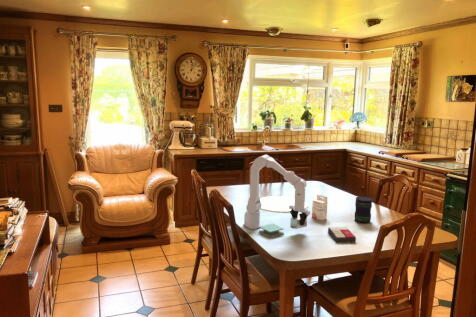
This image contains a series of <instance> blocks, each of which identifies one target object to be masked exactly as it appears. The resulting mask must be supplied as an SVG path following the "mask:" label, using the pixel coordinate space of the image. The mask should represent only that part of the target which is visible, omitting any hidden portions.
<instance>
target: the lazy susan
mask: <svg viewBox="0 0 476 317" xmlns="http://www.w3.org/2000/svg"><path fill="white" fill-rule="evenodd" d="M259 198H260V202H261V208H260V209H259V210H263V211H267V212H272V213H290V211H291V210H292V209H289V205H293V206H294V203H295V197H291V196H278V195H277V196H276V195H274V196H272V195H271V196H269V195H267V196H263V197H259ZM307 208H309V204H308V203H307V201H305V209H307Z"/></svg>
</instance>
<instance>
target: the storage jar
mask: <svg viewBox="0 0 476 317" xmlns="http://www.w3.org/2000/svg"><path fill="white" fill-rule="evenodd" d="M372 202H373V198H371V197H368V196H356V197H355V203H354V205H355V211H354V220H353V221H354V222H356V223H357V224H361V225H362V224H364V225H367V224H370V223H371V219H372V206H373V203H372Z"/></svg>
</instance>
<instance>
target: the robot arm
mask: <svg viewBox="0 0 476 317" xmlns="http://www.w3.org/2000/svg"><path fill="white" fill-rule="evenodd" d="M264 167H265V168H271V169H273V170H274V171H277V173H279V174H281V175H282V176H283V179H284V181H287V182H288V183H289V184H290V185H291V186H292V187H293V188H294V198H295V203H294V206H293V205H289V209H292V210H291V211H290V212H289V213H290V214H291V218H293V217H298V216H300V225H301V226H302V225H304V223H305V220H306V218H307V219H308V217H309V215H311V211H310V210H309V209H307V208H306V209H305V202H306V187H307V186H308V185H307V182H306V180H305V179H304V178H302V177H300V176H298V175H296V174H295V171H293V170H286V168H284V167H283V166H282V165H281V164H279V162H277V161H276V160H275V159H274V157H272V156H270V155H268V154H264V155H261V156H258V157H257V158H255V159H254V161H253V163H252V165H250V171H249V172H250V175H249V177H250V179H249V180H250V181H249V182H250V186H249V197H248V201H247V204H246V210H245V211H246V212H244V221H243V222H244V223H243V226H244V227H246V228H248V229H250V230H256V229H260V228H259V226H262V225H261V224H260V222H261V209H260V208H261V202H260V198H261V197H260V196H259V195H260V194H259V192H260V170H262V169H263V168H264Z"/></svg>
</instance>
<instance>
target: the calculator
mask: <svg viewBox="0 0 476 317" xmlns="http://www.w3.org/2000/svg"><path fill="white" fill-rule="evenodd" d="M327 234H328V235H329V237H331V239H332V240H333V241H334V242H335V243H341V244H343V243H356V241H357V240H356V239H357V238H356V236H355V235H354V233H352V232H351V231H350V229H349V228H348V227H346V226H331V227H328V228H327Z"/></svg>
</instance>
